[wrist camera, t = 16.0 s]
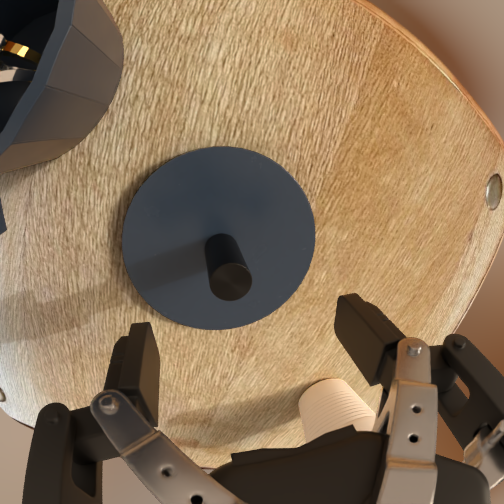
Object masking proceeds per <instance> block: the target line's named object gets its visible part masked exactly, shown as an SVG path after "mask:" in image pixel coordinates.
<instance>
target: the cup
mask: <svg viewBox="0 0 504 504" xmlns="http://www.w3.org/2000/svg"><path fill="white" fill-rule="evenodd" d="M298 406H299V411H300V416H301V420H302V425H303V430H304V435H305V440H306V443H308V442H310V441H312V440H314V439H315V438H317V437H319V436H321V435H323V434H324V433H327V432H330V431H333V430H336V429H340V428H343V427H346V426H348V425H351V424H353V426H354V427H355V429H356V431H372V429H373V426H374V423H375V418H376V414H375V413H374V412H373V411H372V410H371V409H370V408H369V407H368V406H367V405H366V404H365V402H364V401H363V400H362V399H361V398H360V397H359V396H358V395H357V394H356V393H355V392H354V391H353V390H352V389H351V387H350V386H349V385H348V384H347V383H346V382H345V381H343V380H342V379H333V378H332V379H326V380H322V381H320V382H317V383H315V384H314V385H312V386H311V387H309V388H308V389H307V390H306V391H305V392H304V393H303V394H302V396H301V397H300V400H299V403H298Z"/></svg>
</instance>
